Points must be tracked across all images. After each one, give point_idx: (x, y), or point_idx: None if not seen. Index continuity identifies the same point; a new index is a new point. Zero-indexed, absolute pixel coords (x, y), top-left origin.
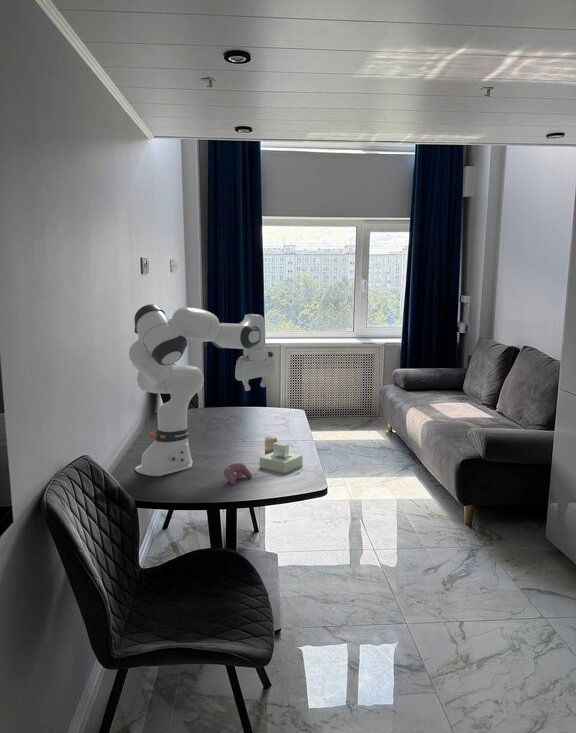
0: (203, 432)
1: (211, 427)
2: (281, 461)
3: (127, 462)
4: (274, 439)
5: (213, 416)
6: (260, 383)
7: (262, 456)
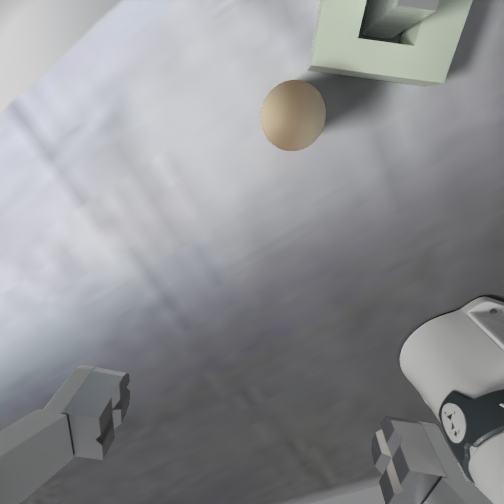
0: (162, 423)
1: None
2: None
3: None
4: (302, 87)
5: None
6: (109, 443)
7: (428, 77)
